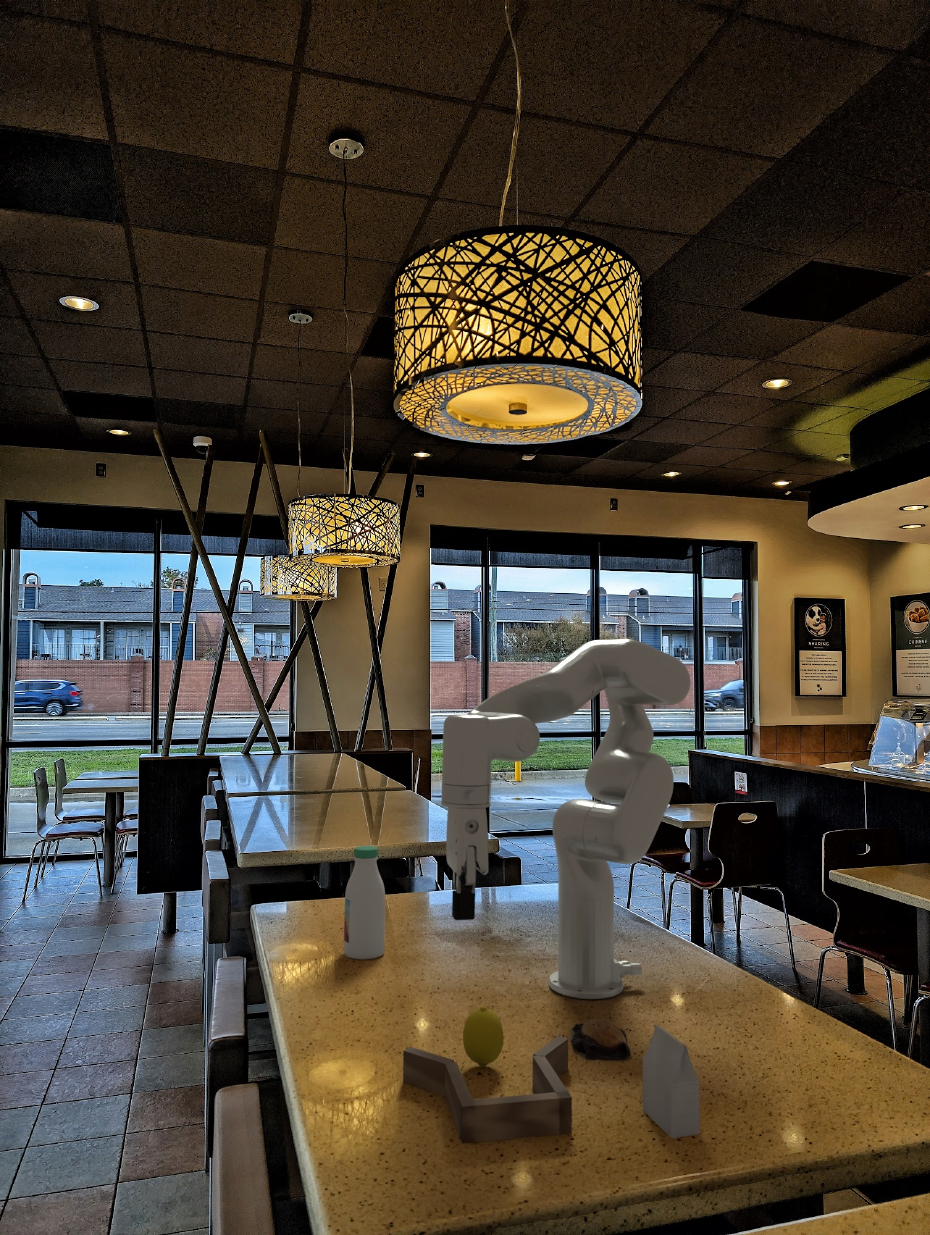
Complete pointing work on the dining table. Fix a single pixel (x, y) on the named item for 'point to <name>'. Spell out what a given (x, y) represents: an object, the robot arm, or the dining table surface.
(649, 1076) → the grey block
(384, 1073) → the dining table surface
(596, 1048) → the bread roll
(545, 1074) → the corral
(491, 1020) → the lemon
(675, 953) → the dining table surface
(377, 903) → the milk bottle
